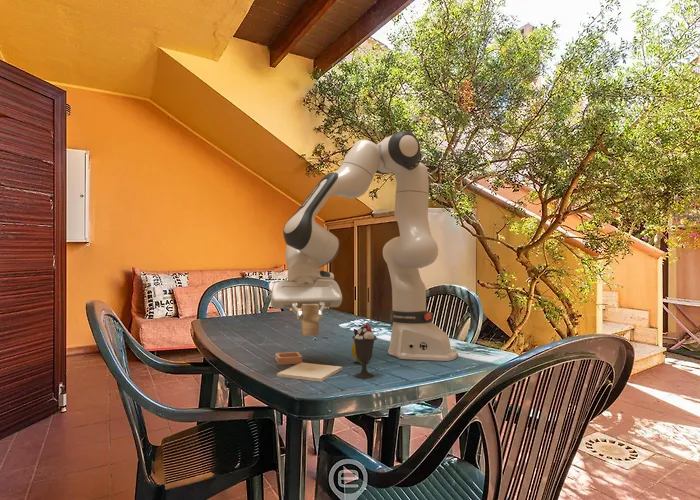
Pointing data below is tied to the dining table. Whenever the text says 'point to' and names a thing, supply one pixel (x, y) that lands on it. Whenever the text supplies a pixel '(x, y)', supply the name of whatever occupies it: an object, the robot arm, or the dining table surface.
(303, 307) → the birch post
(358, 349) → the sundae
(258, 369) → the dining table surface
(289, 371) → the tile
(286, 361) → the sleeve holder
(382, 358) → the dining table surface
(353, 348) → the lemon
